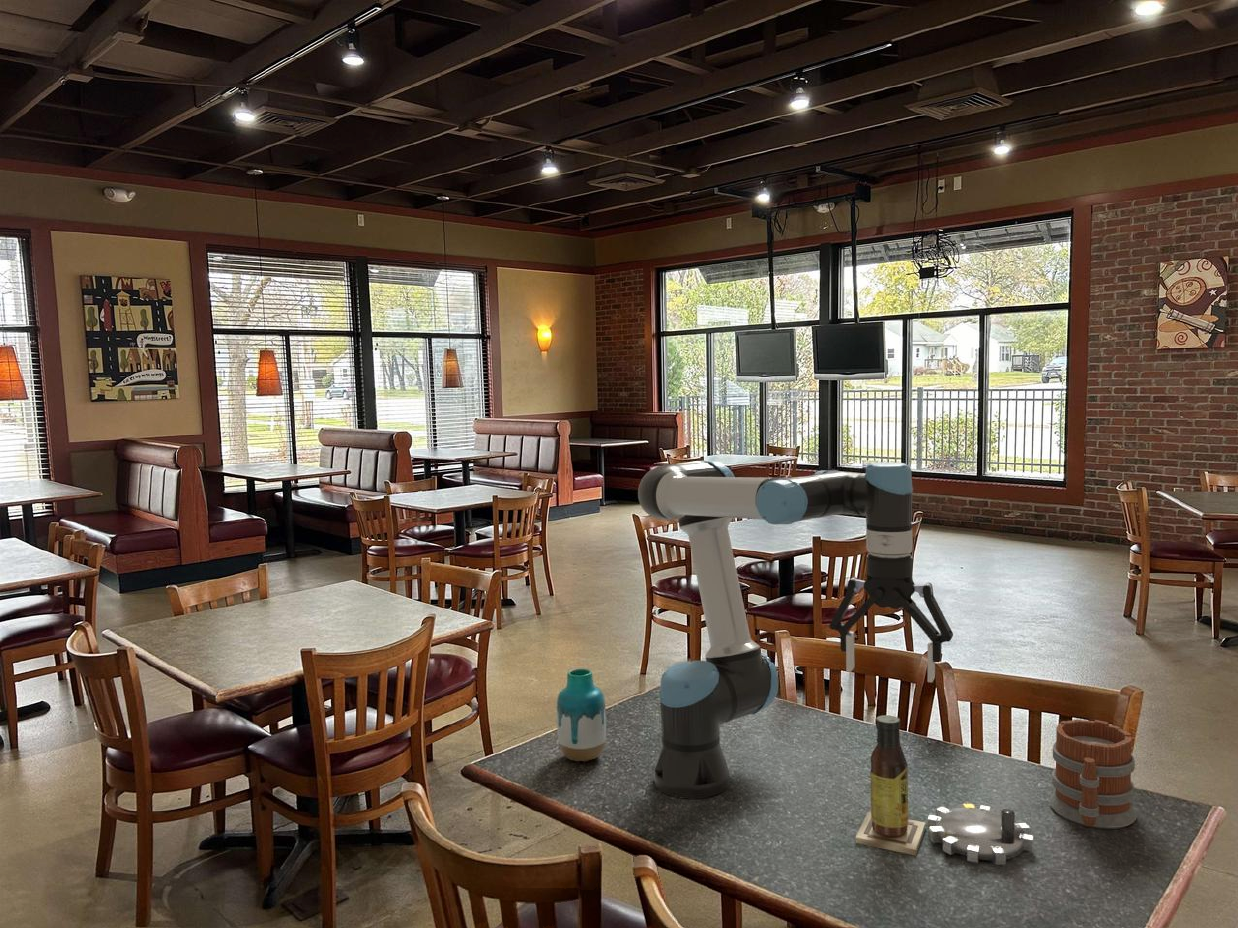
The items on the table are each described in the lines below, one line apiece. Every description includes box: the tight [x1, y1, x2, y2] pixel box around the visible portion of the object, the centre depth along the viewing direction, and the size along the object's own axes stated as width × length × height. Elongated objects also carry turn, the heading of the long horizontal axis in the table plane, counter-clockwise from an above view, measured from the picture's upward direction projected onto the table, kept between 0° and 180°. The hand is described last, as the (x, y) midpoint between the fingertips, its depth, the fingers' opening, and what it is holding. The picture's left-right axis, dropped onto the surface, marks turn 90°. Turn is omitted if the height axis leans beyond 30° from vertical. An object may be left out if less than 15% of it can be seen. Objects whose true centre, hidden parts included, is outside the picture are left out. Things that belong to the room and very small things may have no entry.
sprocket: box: [927, 803, 1034, 866], centre depth 151 cm, size 17×16×7 cm
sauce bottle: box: [870, 714, 909, 837], centre depth 153 cm, size 6×6×20 cm
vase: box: [556, 667, 607, 762], centre depth 189 cm, size 11×11×19 cm
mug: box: [1048, 719, 1138, 830], centre depth 157 cm, size 14×19×15 cm
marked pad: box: [854, 811, 926, 856], centre depth 154 cm, size 10×10×1 cm
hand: (889, 674), depth 152 cm, fingers open, 13 cm apart
